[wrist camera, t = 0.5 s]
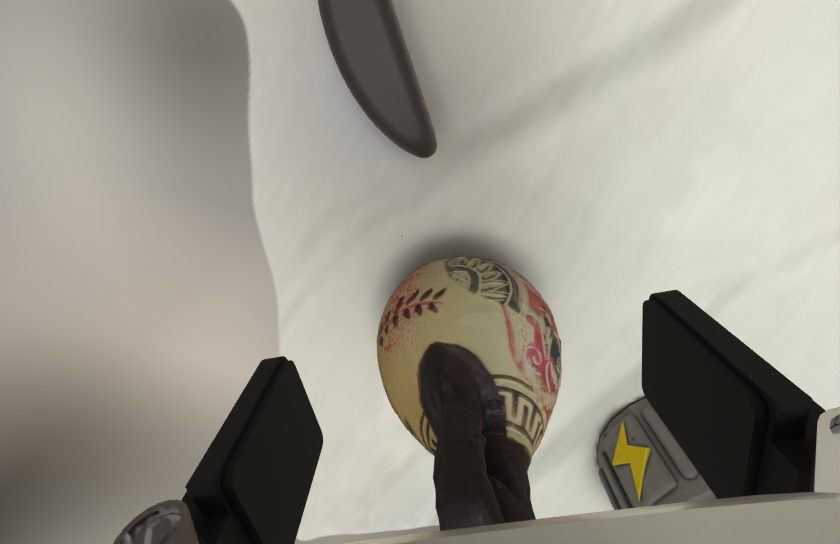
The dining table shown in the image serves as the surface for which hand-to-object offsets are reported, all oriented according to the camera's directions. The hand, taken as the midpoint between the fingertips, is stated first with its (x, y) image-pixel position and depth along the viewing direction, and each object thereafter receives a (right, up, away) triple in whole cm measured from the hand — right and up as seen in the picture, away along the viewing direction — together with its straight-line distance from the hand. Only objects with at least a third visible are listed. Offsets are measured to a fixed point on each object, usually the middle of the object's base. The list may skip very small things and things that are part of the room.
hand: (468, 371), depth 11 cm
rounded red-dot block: (-3, +21, +23) cm, 31 cm away
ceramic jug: (+2, 0, +32) cm, 32 cm away
